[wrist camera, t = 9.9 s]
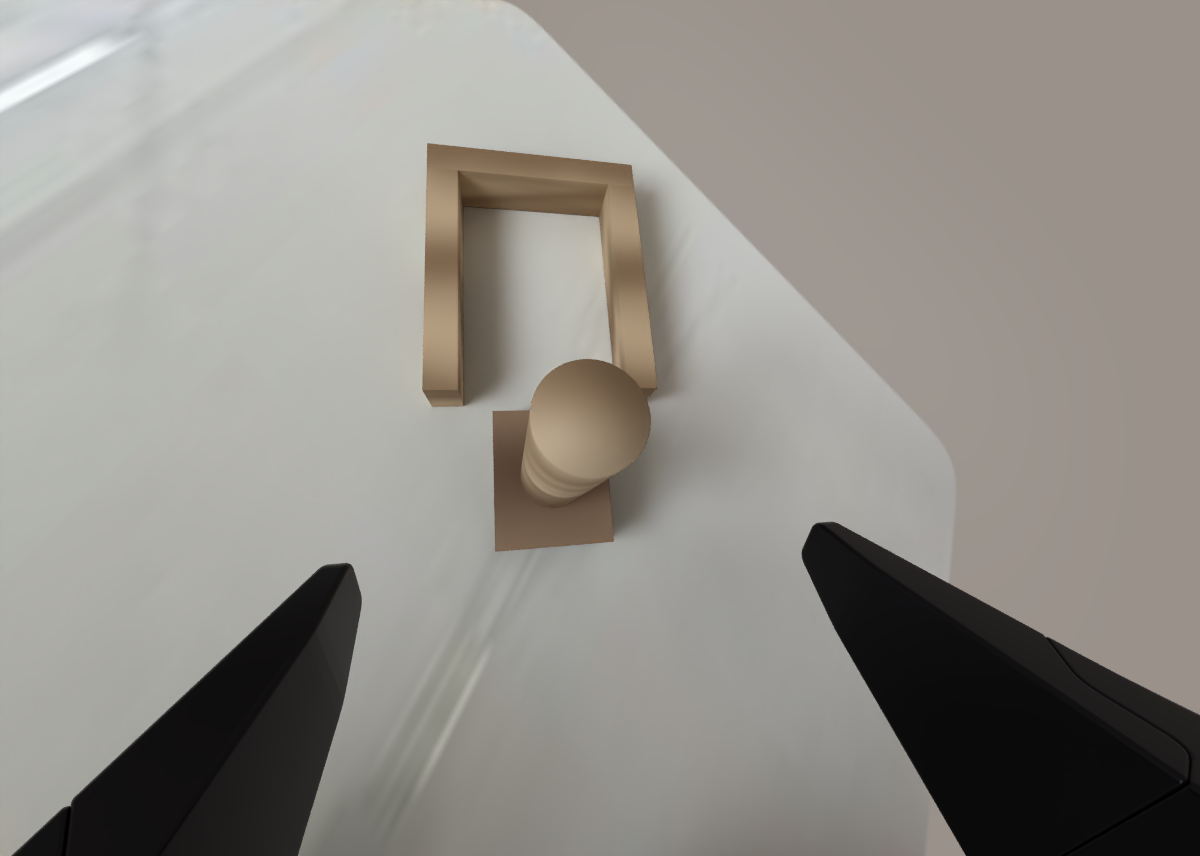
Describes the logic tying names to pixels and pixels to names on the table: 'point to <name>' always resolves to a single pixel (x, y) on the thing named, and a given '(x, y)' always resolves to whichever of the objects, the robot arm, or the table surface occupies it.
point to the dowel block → (566, 456)
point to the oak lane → (539, 189)
